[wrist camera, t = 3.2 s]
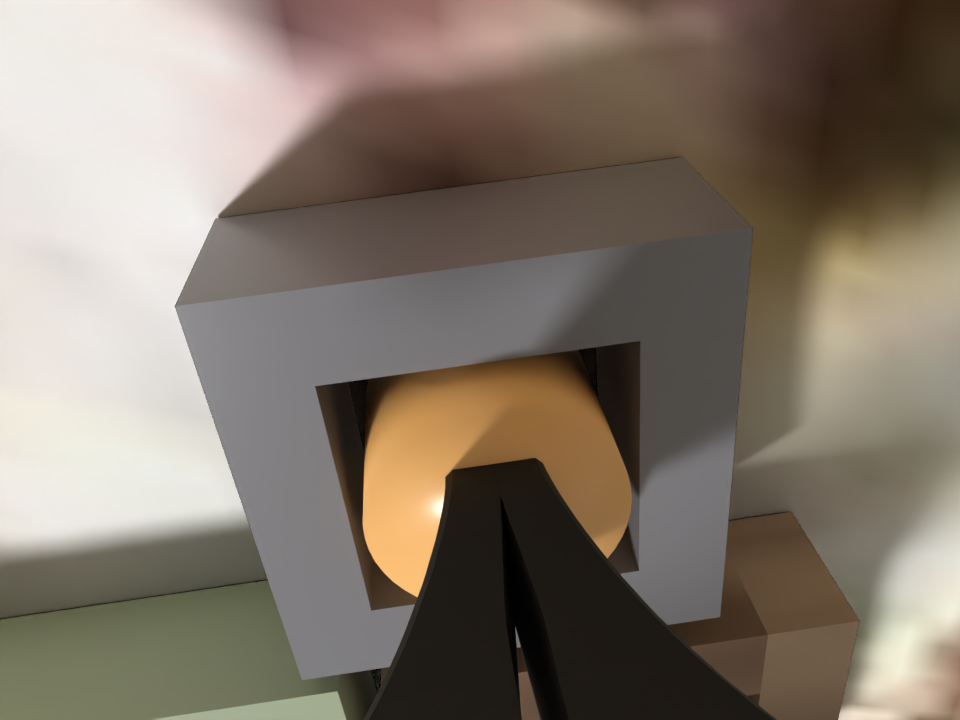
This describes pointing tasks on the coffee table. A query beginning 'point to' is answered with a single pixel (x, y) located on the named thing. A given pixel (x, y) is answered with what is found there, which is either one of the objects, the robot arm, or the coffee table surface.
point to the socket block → (768, 624)
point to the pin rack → (168, 663)
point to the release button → (484, 450)
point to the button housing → (464, 341)
